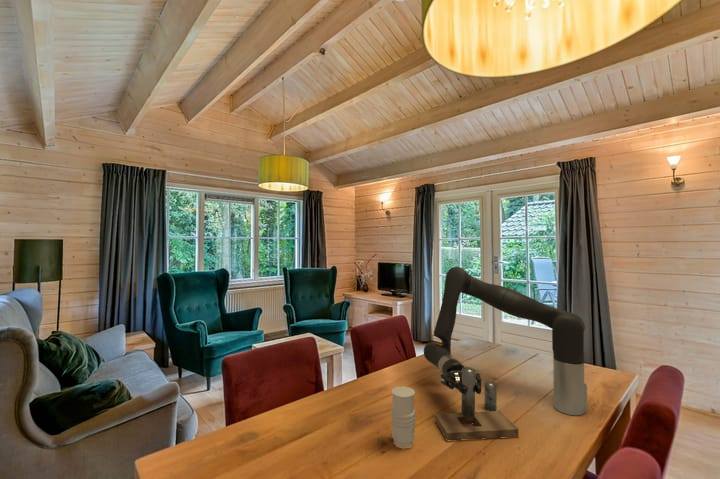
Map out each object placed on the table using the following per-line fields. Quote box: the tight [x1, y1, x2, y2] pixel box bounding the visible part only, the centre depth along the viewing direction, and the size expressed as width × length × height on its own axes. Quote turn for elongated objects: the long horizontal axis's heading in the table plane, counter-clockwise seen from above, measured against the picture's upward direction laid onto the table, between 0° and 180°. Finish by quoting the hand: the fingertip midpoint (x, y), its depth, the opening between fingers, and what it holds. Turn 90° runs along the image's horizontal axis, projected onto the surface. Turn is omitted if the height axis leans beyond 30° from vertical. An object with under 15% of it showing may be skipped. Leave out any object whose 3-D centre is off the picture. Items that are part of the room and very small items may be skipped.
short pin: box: [483, 380, 498, 411], centre depth 119 cm, size 4×4×9 cm
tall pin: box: [460, 366, 476, 417], centre depth 106 cm, size 4×4×14 cm
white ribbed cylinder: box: [390, 386, 416, 448], centre depth 99 cm, size 7×7×15 cm
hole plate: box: [434, 410, 519, 441], centre depth 106 cm, size 22×11×2 cm, turn 95°
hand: (472, 391), depth 103 cm, fingers closed on tall pin, 4 cm apart
